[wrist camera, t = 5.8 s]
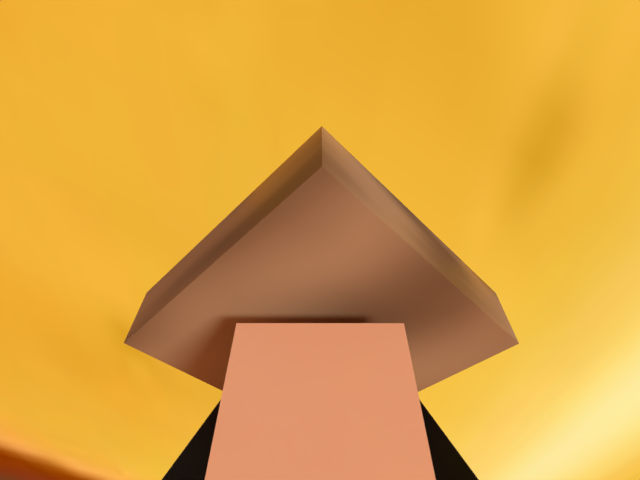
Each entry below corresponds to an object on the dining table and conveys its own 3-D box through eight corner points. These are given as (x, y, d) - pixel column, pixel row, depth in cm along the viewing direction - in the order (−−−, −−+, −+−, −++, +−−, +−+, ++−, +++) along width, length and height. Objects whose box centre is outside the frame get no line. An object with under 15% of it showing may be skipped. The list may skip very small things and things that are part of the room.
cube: (253, 410, 15) (230, 580, 11) (236, 323, 12) (197, 515, 8) (387, 410, 15) (409, 580, 11) (403, 323, 12) (442, 515, 8)
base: (146, 292, 17) (123, 342, 15) (321, 125, 12) (321, 166, 10) (320, 389, 21) (320, 438, 19) (495, 293, 17) (519, 343, 15)
